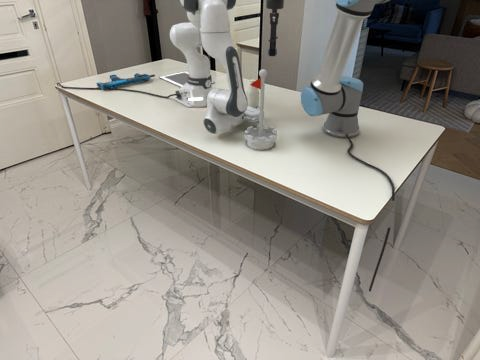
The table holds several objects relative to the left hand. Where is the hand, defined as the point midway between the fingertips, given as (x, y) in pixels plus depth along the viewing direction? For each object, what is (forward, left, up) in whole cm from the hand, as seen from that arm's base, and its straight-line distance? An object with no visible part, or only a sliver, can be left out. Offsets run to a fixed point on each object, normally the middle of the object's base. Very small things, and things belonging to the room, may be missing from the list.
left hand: (253, 106), depth 158 cm
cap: (-2, +15, +22) cm, 27 cm away
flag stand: (+19, -19, -6) cm, 27 cm away
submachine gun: (-96, -6, -6) cm, 97 cm away
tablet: (-70, +20, -6) cm, 73 cm away
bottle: (0, -1, -6) cm, 6 cm away
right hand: (-2, +15, +20) cm, 26 cm away
